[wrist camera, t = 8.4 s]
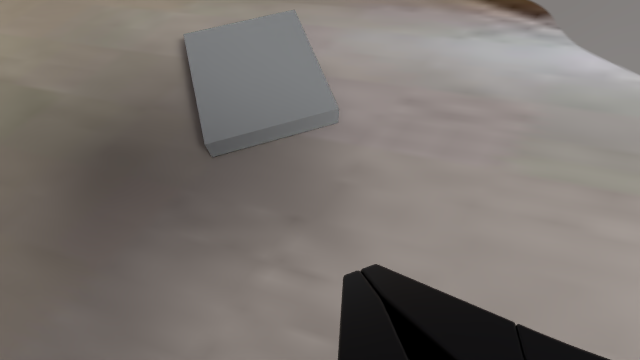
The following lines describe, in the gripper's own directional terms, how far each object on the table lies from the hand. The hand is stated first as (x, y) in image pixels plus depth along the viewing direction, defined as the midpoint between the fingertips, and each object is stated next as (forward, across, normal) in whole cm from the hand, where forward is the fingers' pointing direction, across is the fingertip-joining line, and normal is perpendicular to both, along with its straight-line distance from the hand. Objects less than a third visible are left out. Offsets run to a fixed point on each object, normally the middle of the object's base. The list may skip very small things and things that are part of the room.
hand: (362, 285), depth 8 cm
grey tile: (+18, 0, -1) cm, 18 cm away
